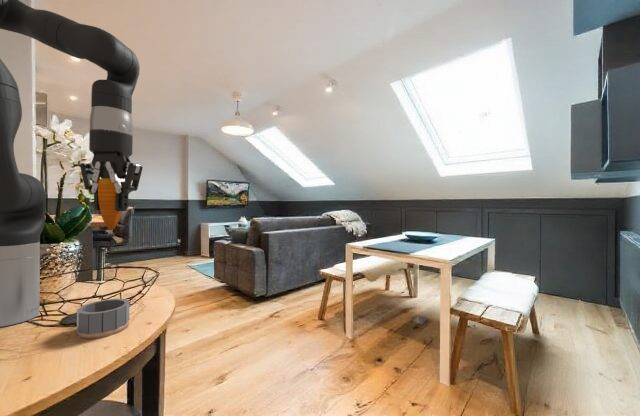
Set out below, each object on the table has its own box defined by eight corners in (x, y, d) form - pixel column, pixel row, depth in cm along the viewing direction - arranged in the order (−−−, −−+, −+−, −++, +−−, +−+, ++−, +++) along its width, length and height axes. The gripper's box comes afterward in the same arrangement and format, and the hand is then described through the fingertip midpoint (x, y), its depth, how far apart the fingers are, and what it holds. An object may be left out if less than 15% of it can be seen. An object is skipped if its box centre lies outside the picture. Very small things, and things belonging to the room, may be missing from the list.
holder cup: (68, 341, 54) (68, 315, 54) (89, 323, 62) (89, 300, 62) (120, 335, 57) (120, 311, 57) (133, 318, 65) (134, 297, 65)
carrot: (102, 229, 62) (102, 162, 62) (128, 229, 64) (128, 163, 64) (92, 231, 58) (92, 159, 58) (120, 231, 59) (120, 160, 59)
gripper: (153, 135, 63) (152, 211, 63) (100, 137, 65) (99, 209, 66) (125, 126, 56) (123, 212, 56) (66, 128, 58) (65, 210, 58)
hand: (110, 210), depth 61 cm, fingers closed on carrot, 4 cm apart
